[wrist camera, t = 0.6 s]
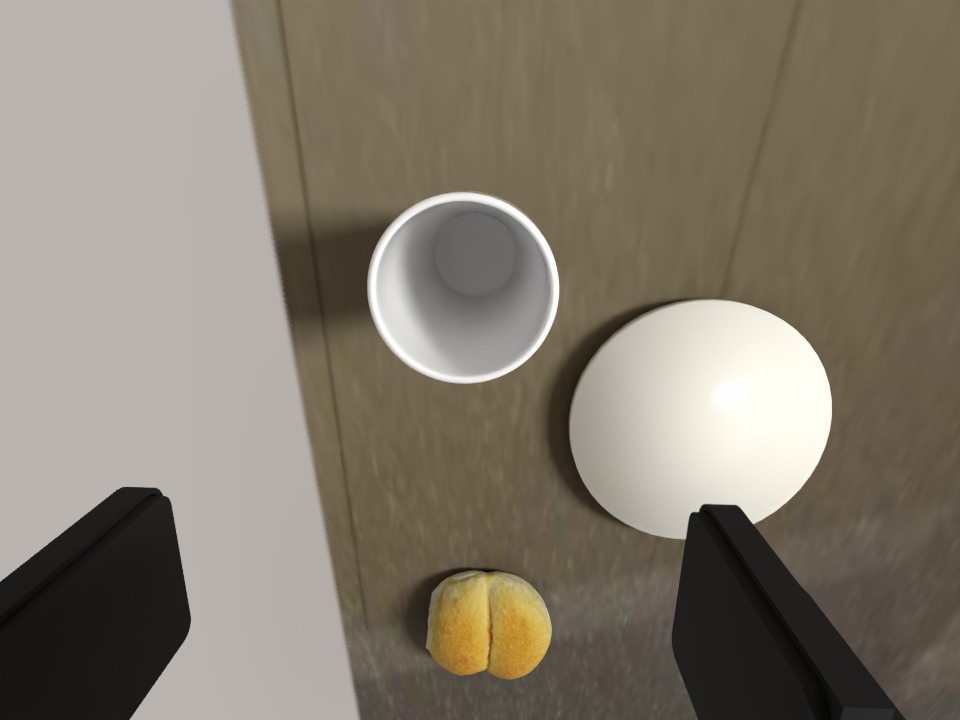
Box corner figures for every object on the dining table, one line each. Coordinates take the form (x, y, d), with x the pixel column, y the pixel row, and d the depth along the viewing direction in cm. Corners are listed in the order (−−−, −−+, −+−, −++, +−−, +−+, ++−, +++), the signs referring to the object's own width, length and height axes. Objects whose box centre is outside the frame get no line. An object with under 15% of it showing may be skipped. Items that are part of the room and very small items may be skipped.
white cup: (469, 329, 34) (449, 423, 20) (398, 243, 33) (322, 277, 19) (556, 261, 33) (602, 309, 19) (486, 168, 32) (477, 143, 17)
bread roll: (541, 662, 42) (546, 709, 38) (425, 648, 42) (418, 694, 38) (558, 570, 39) (564, 611, 36) (434, 556, 39) (428, 595, 36)
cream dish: (575, 293, 34) (578, 298, 32) (840, 299, 33) (856, 303, 32) (560, 522, 38) (563, 535, 37) (794, 529, 38) (805, 543, 36)
